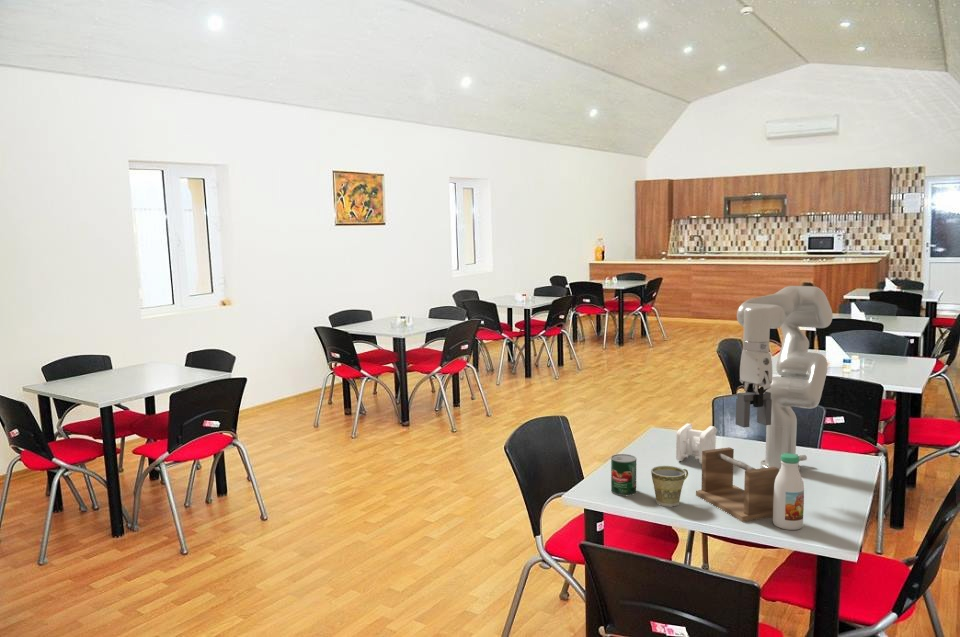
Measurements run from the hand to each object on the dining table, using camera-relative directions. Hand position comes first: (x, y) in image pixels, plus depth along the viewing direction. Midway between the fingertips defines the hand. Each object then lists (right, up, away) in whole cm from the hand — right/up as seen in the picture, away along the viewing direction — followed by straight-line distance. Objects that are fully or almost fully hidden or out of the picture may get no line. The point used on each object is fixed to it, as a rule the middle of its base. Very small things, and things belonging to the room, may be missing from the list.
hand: (753, 404), depth 224 cm
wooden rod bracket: (-8, -29, -8) cm, 31 cm away
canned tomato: (-39, -28, +5) cm, 49 cm away
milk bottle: (0, -31, -23) cm, 39 cm away
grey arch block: (0, -6, +1) cm, 6 cm away
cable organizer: (-7, -24, +35) cm, 43 cm away
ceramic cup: (-27, -29, -5) cm, 40 cm away
